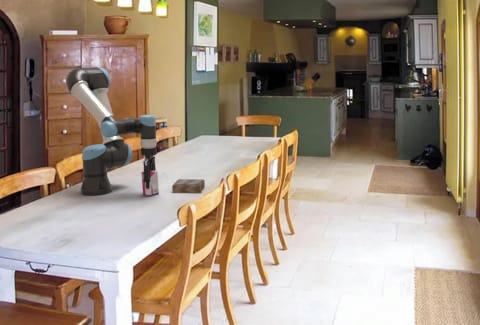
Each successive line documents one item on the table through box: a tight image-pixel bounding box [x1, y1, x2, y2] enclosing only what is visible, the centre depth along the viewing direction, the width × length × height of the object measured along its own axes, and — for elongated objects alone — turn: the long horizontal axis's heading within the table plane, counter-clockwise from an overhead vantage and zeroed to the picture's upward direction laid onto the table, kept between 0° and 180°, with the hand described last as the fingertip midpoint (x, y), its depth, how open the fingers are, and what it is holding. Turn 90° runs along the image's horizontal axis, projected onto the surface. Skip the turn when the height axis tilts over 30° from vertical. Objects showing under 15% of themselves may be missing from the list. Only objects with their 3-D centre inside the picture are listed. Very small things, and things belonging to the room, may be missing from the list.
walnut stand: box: [171, 178, 206, 194], centre depth 293 cm, size 14×14×4 cm
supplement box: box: [141, 170, 160, 197], centre depth 283 cm, size 6×6×12 cm
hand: (150, 192), depth 284 cm, fingers closed on supplement box, 8 cm apart
